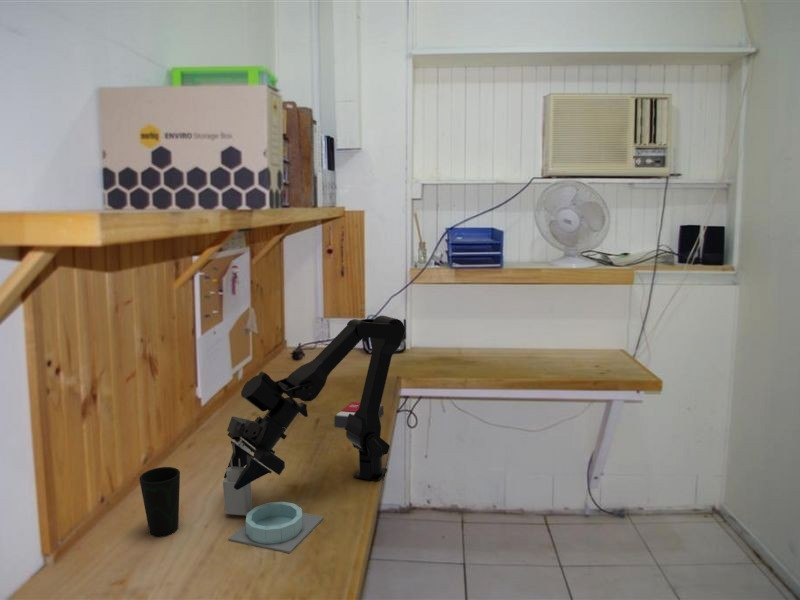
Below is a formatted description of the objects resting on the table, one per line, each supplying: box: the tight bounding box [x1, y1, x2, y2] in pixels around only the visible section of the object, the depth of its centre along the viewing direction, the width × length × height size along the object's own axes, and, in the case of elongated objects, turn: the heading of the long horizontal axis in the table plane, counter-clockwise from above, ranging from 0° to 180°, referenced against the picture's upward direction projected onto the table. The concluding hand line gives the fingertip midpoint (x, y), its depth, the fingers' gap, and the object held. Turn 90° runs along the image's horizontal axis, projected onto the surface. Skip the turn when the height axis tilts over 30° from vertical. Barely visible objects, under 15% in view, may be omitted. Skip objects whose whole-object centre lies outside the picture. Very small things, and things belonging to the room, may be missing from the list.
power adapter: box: [222, 457, 253, 516], centre depth 132 cm, size 3×5×12 cm, turn 79°
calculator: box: [334, 401, 384, 429], centre depth 190 cm, size 11×4×15 cm
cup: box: [139, 466, 181, 538], centre depth 126 cm, size 8×8×12 cm
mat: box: [228, 512, 325, 554], centre depth 127 cm, size 14×14×1 cm
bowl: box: [245, 501, 303, 544], centre depth 126 cm, size 11×11×3 cm
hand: (230, 483), depth 131 cm, fingers closed on power adapter, 5 cm apart
